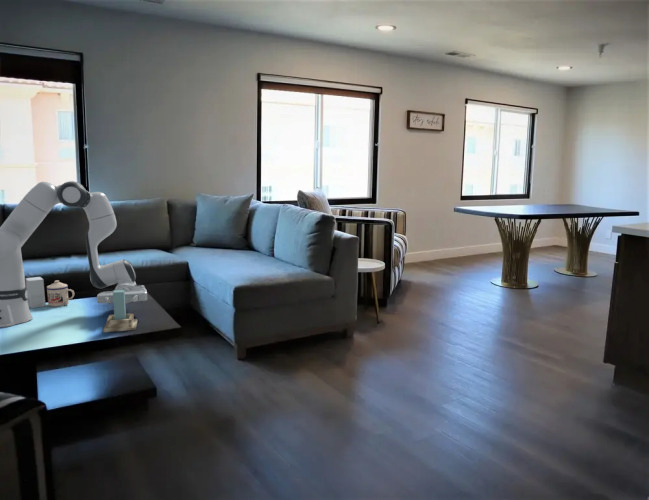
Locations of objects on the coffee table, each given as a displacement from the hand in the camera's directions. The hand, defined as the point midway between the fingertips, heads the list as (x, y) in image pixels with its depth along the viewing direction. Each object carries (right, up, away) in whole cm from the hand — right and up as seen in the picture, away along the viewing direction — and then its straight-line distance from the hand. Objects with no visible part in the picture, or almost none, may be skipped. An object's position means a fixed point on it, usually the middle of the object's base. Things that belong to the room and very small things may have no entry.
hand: (120, 300), depth 213 cm
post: (+1, -9, -4) cm, 10 cm away
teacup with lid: (-41, -5, +31) cm, 51 cm away
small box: (-52, -5, +29) cm, 59 cm away
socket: (+2, -10, -4) cm, 11 cm away
